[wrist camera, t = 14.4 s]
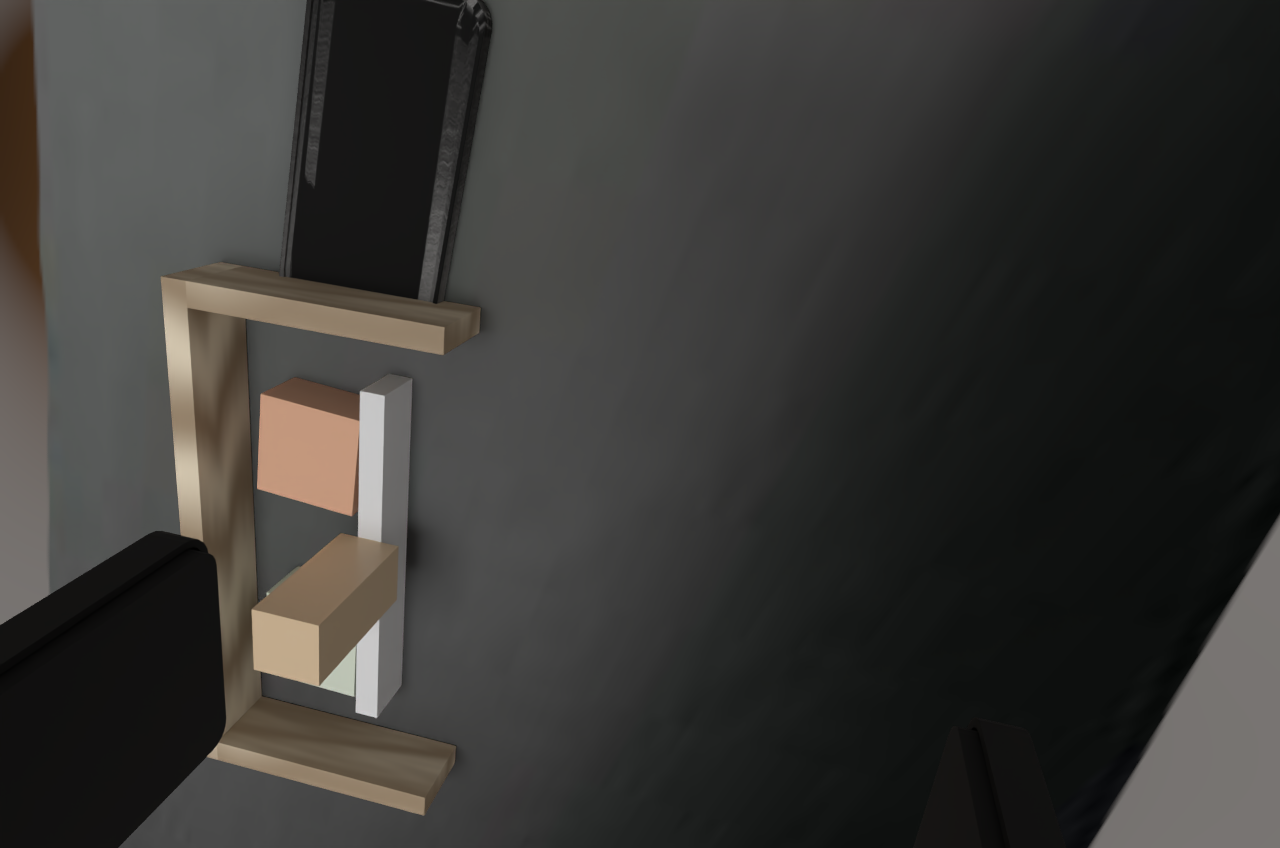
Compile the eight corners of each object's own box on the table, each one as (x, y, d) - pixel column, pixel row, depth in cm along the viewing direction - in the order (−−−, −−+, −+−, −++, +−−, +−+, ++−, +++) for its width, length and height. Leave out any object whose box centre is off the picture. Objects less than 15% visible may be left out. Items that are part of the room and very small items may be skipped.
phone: (490, -2, 34) (428, 348, 40) (500, 2, 35) (438, 342, 41) (309, -53, 35) (274, 298, 41) (324, -48, 36) (287, 293, 42)
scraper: (374, 369, 42) (245, 440, 33) (431, 380, 42) (317, 456, 32) (368, 674, 48) (259, 805, 39) (418, 687, 48) (319, 823, 39)
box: (220, 262, 42) (160, 276, 38) (480, 307, 40) (444, 327, 36) (243, 708, 51) (198, 754, 47) (454, 762, 49) (424, 815, 45)
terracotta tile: (297, 375, 43) (260, 393, 40) (390, 401, 42) (360, 421, 40) (292, 465, 45) (257, 488, 42) (381, 491, 44) (351, 516, 42)
